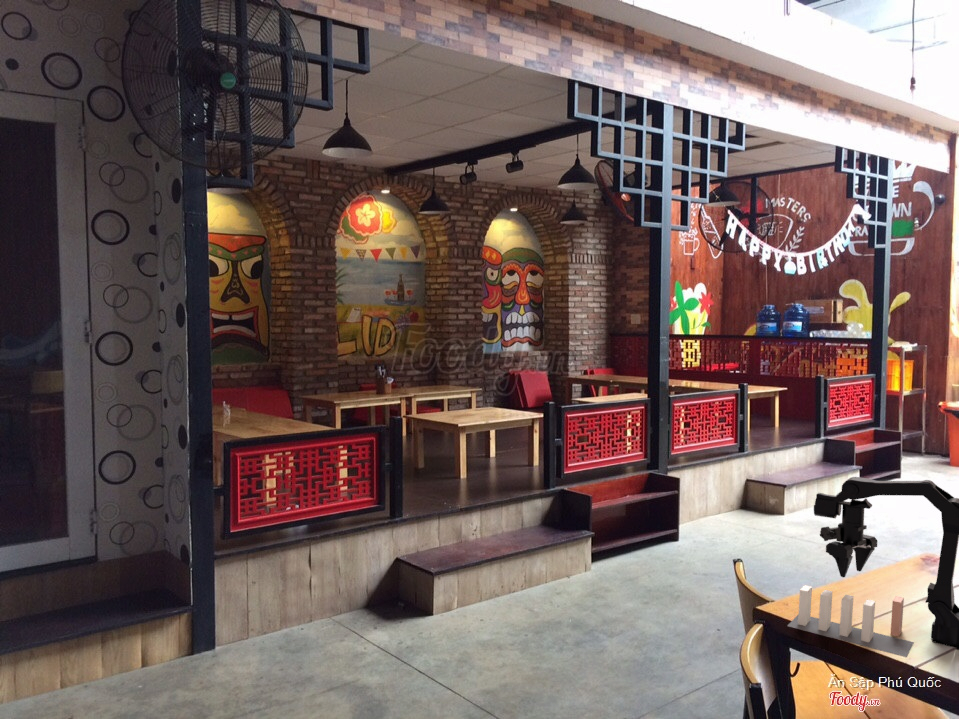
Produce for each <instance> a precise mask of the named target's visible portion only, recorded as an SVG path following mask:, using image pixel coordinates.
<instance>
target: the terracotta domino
mask: <svg viewBox="0 0 959 719" xmlns="http://www.w3.org/2000/svg"><path fill="white" fill-rule="evenodd" d="M904 601H905V598H904V597H902V596H899V595H895V596H894V598H893V600H892V604H891V606H892V607H891V621H890V623H891V624H890V635H891V636H893V637H894V636H895V637H897V638H898V637H900V634H901V633H902V631H903V618H904V617H903V616H904V604H905V602H904Z"/></svg>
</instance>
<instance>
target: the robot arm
mask: <svg viewBox="0 0 959 719" xmlns="http://www.w3.org/2000/svg"><path fill="white" fill-rule="evenodd" d="M876 496H877V497H878V496H913V497H914V496H915V497H916V496H922V497H924V498H925V499H926V500H928V501H929V503H931V504H932V505H933V506H934V508H936V509H937V510H938V511H939V512H941V524H942V532H943V534H942V539H941V547H940V553H939V559H938V560H939V562H938V568H937V575H936V580H935V583H933V582H930V583H929V585H928V586H927V597H926V600H925V603H927V608H928V611H929V612H930V613H931V614H932V615H933V616H934V621H933V622H932V624H931V630H930V632H931V633H930V639H931V640H932V641H931V642H932V643H935V644H938V645H942V646H947V647H950V648H951V647H952V648H954V649H956V650H957V651H958V650H959V606H958V605H957V604H956V603H955V590H954V582H953V580H954V574H955V567H956V561H957V555H958V553H957V552H958V547H959V498H958V497H955V496H953V495H951V494H950V493H949V492H948V491H946V490H945V489H942V488H941V487H939V486H938V484H935V483H934V481H932V480H930V479H925V480H874V479H871V478H866V477H859V476H852V477H849V478H848V479H847V480H845V481H844V482H843V483H842V485H841V491H839V492H838V493H837V494H836V495H835V494H826V493H822V492H818V493H816V497H815V500H814V505H813V514H814V516H816V517H822V518H827V519H828V518H830V519H836V518H837V516H841V522H840V523H838V524H837V526H836V527H829V526H823V527H821V528H820V531H819V532H820V533H819V536H820V537H821V538H822V539H823V541H824V542H828V541H831V540H834V541H832V542H828V543H827V544H826V545H825V553H827V554H828V555H829V556H831V557H833V558H834V559H835V562H836V566H837V570H838V573H839V576H840V577H841V578H846V576H847V573H848V570H849V567H850V565H851V563H852V560H853V558H854V556H853V553H854V555H855V568H856V571H857V572H862V570H863V568H864V567H865V565H866V563H867V562H868V560H869V558H870V557H871V555H872V554H873V552H874V551H875V550H876V549H875V548H878V540H877V538H876V537H875V536H872V535H869V534H865V533H864V530H867V526H868V525H865V509H868V510H869V509H871V508H872V507H873V504H872V503H871V502H870V501H869V500H868V498H871V497H876ZM861 499H863V500H861ZM848 500H850V501H848Z"/></svg>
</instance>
